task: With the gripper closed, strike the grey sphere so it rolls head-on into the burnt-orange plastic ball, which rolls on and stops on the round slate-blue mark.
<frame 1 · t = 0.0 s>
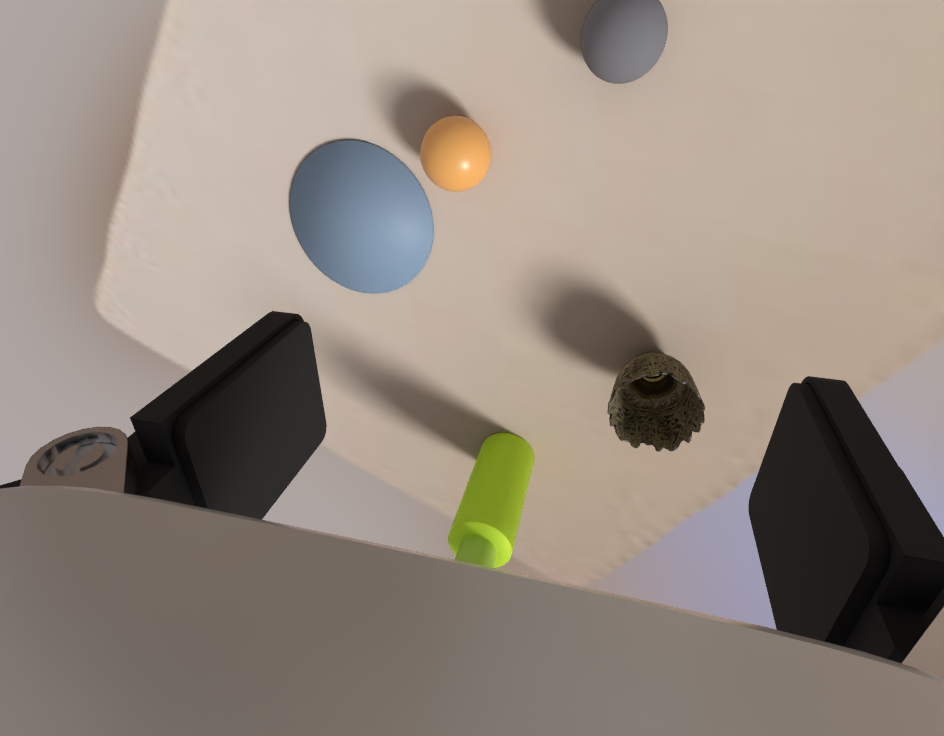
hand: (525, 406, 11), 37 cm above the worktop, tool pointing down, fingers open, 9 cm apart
object ball: (455, 154, 43), on the worktop
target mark: (360, 221, 51), on the worktop
cup: (652, 365, 51), on the worktop
grey sphere: (623, 36, 36), on the worktop
soap dispenser: (507, 449, 60), on the worktop
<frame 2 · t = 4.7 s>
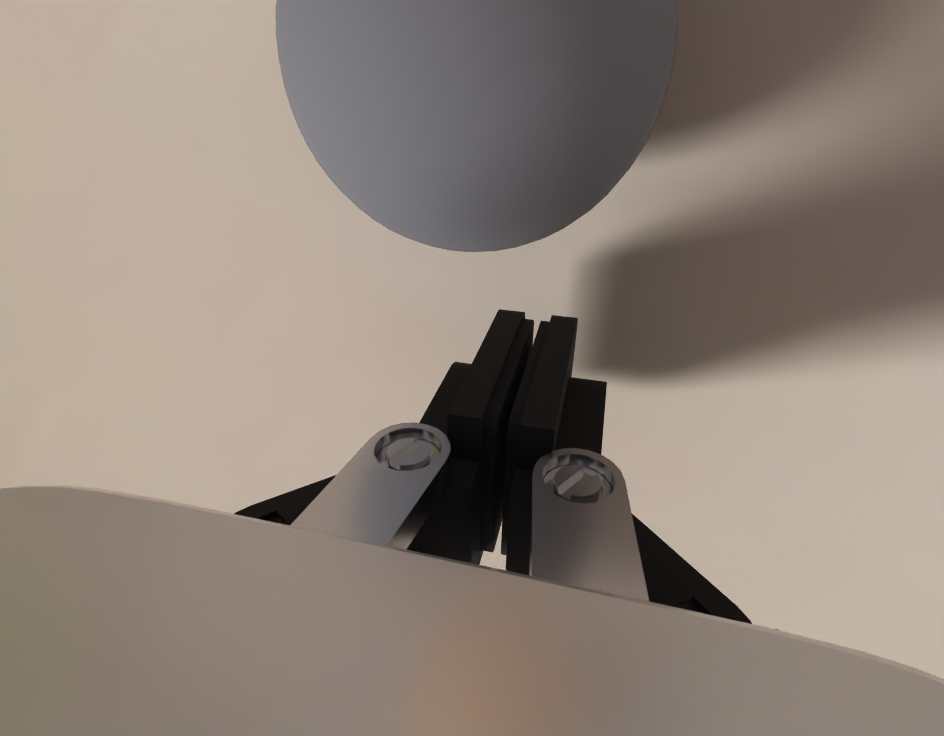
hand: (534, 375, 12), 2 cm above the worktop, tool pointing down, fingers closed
grey sphere: (475, 59, 8), on the worktop
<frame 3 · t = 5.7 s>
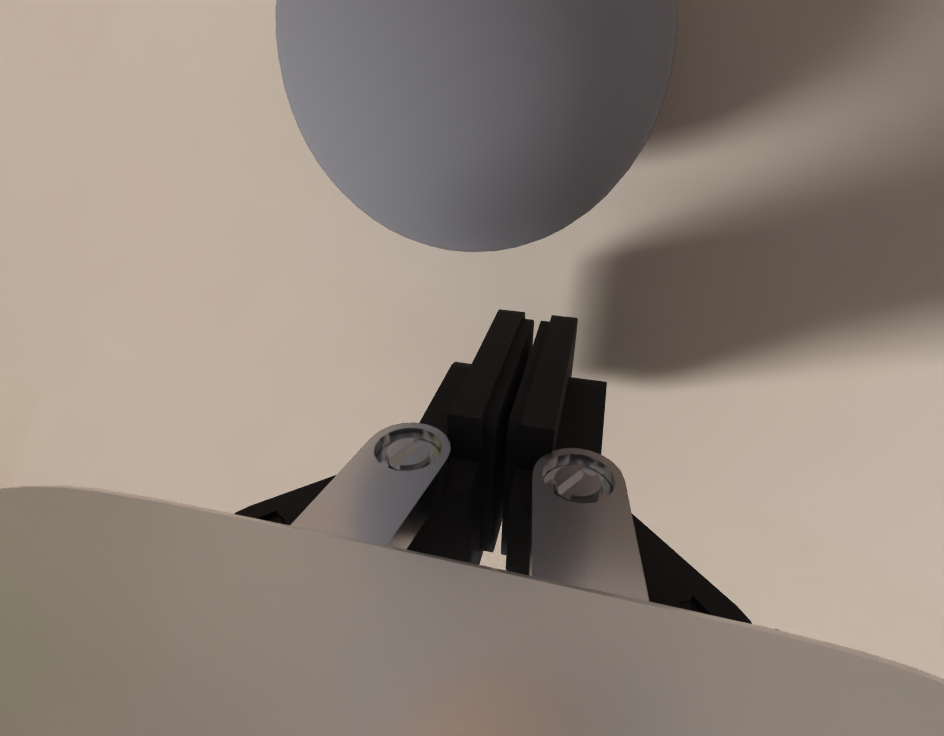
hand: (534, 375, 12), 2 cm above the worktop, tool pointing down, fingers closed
grey sphere: (475, 59, 8), on the worktop
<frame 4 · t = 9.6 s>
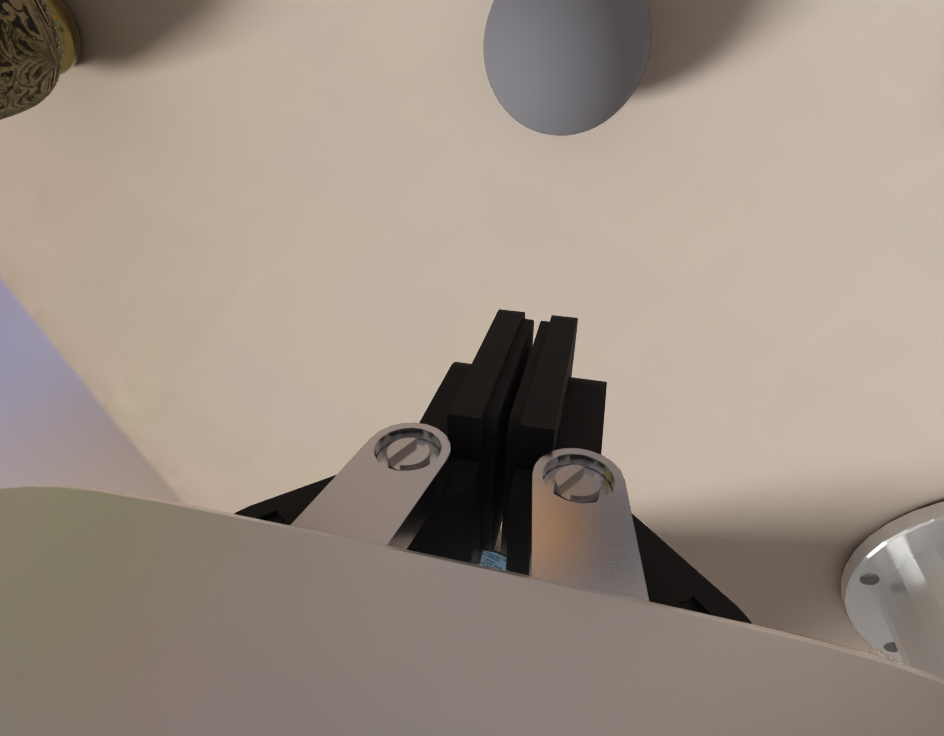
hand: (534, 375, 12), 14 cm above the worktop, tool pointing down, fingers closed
cup: (57, 28, 26), on the worktop
grey sphere: (565, 46, 19), on the worktop
gum box: (444, 619, 42), on the worktop
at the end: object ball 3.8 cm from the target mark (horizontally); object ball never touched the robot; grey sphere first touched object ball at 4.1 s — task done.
